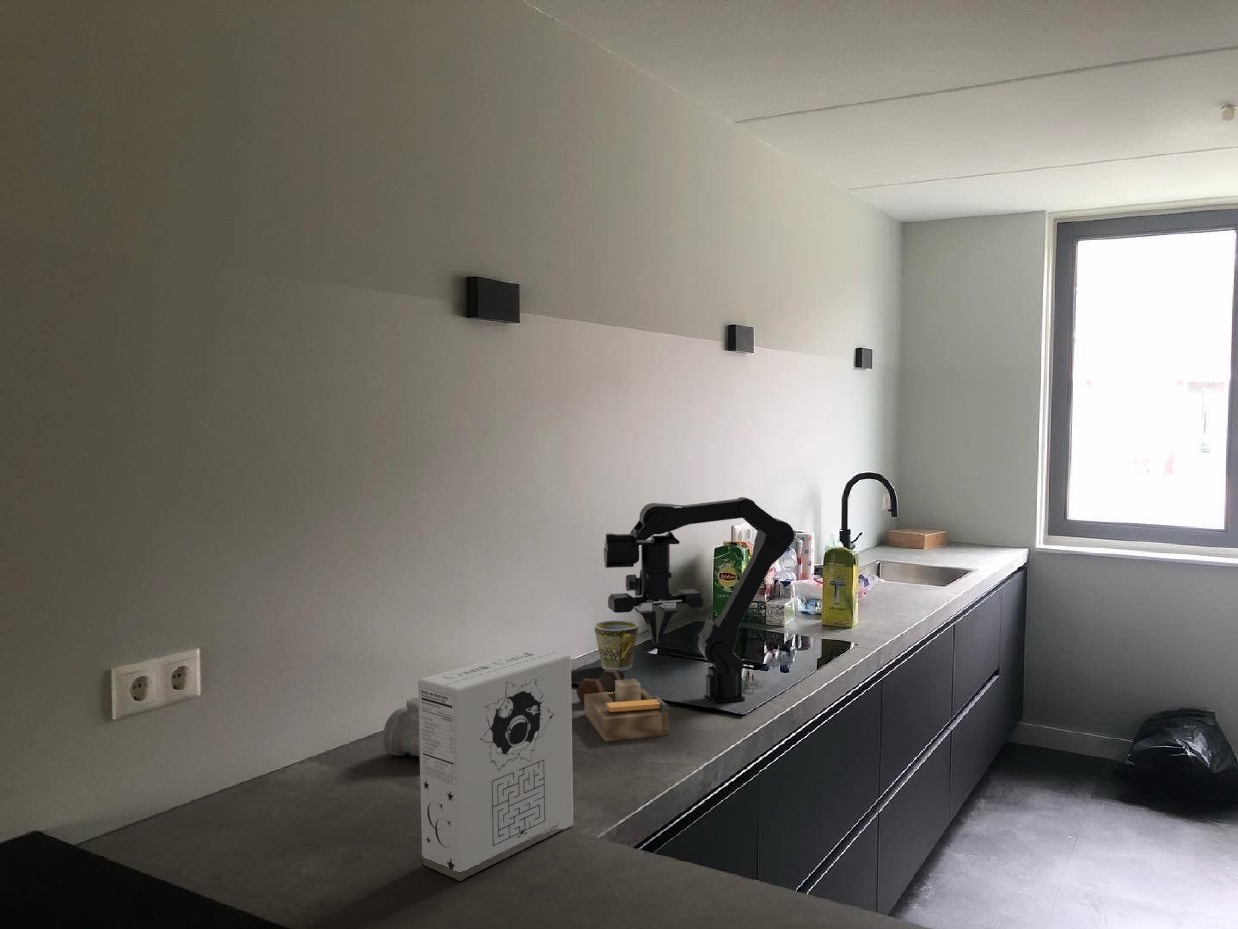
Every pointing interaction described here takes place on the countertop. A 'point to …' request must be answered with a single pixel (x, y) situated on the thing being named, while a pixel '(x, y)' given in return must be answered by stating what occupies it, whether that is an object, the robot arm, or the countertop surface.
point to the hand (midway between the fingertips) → (656, 642)
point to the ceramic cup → (616, 644)
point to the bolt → (599, 683)
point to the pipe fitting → (403, 730)
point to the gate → (634, 705)
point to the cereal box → (495, 755)
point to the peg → (627, 690)
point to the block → (625, 718)
